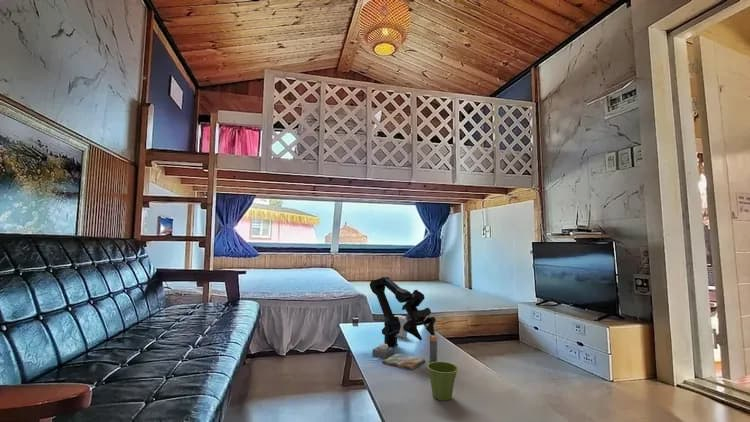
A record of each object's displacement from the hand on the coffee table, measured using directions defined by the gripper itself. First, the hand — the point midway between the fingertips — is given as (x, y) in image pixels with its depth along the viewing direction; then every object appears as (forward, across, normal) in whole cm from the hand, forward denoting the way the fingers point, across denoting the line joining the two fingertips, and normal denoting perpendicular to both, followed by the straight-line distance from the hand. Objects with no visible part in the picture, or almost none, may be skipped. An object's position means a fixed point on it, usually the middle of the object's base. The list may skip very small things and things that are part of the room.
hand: (428, 338), depth 180 cm
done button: (-8, -13, +20) cm, 25 cm away
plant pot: (+31, -24, -15) cm, 42 cm away
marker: (+10, 0, +5) cm, 11 cm away
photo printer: (-22, +17, +37) cm, 46 cm away
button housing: (-6, -13, +21) cm, 25 cm away
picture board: (+4, -12, +11) cm, 17 cm away
